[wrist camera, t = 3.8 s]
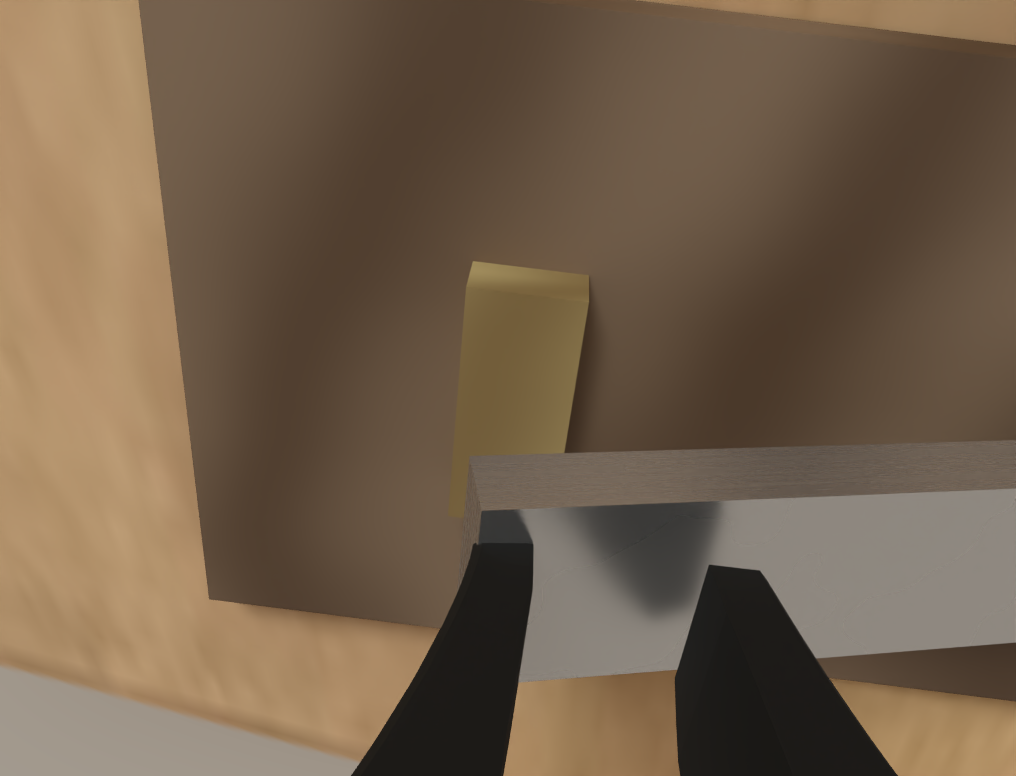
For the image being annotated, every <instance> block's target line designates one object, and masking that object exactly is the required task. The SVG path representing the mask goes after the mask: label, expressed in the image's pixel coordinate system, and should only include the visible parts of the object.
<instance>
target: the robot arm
mask: <svg viewBox="0 0 1016 776" xmlns="http://www.w3.org/2000/svg"><path fill="white" fill-rule="evenodd" d="M533 557H534V544H529V543H481V544H480V545H477V544H476V543H474V544H473V546H472V551H471V555H470V559H469V562H468V565H467V568H466V571H465V574H464V577H463V580H462V582H461V585H460V587H459V590H458V592H457V594H456V597H455V599H454V601H453V603H452V605H451V608H450V610H449V612H448V614H447V616H446V618H445V621H444V623H443V625H442V627H441V629H440V631H439V632H438V634H437V636H436V638H435V640H434V642H433V644H432V646H431V647H430V649H429V651H428V653H427V655H426V657H425V659H424V661H423V662H422V664H421V666H420V668H419V670H418V672H417V673H416V675H415V677H414V679H413V680H412V682H411V684H410V686H409V687H408V689H407V690H406V692H405V694H404V695H403V697H402V698H401V700H400V702H399V703H398V705H397V706H396V708H395V710H394V711H393V713H392V714H391V716H390V718H389V719H388V721H387V722H386V724H385V726H384V727H383V729H382V731H381V732H380V734H379V735H378V737H377V738H376V740H375V741H374V743H373V744H372V746H371V747H370V749H369V750H368V752H367V753H366V755H365V756H364V758H363V759H362V761H361V762H360V764H359V765H358V766H357V768H356V769H355V771H354V772H353V774H352V775H351V776H503V773H504V768H505V762H506V756H507V750H508V745H509V739H510V732H511V726H512V719H513V713H514V707H515V700H516V694H517V688H518V681H519V675H520V668H521V662H522V656H523V649H524V643H525V637H526V630H527V624H528V617H529V611H530V605H531V598H532V592H533ZM675 698H676V727H677V747H678V763H679V770H680V776H898V775H897V774H896V773H895V771H894V770H893V769H892V767H891V766H890V765H889V763H888V762H887V761H886V759H885V758H884V756H883V755H882V754H881V752H880V751H879V750H878V748H877V747H876V745H875V744H874V743H873V741H872V740H871V739H870V737H869V736H868V734H867V733H866V731H865V730H864V728H863V727H862V726H861V724H860V723H859V721H858V720H857V718H856V717H855V716H854V714H853V713H852V711H851V710H850V708H849V707H848V705H847V704H846V703H845V701H844V700H843V698H842V697H841V695H840V694H839V692H838V691H837V690H836V688H835V687H834V685H833V684H832V682H831V681H830V679H829V678H828V676H827V675H826V673H825V671H824V670H823V668H822V667H821V665H820V664H819V662H818V661H817V659H816V658H815V656H814V654H813V653H812V651H811V650H810V648H809V647H808V645H807V644H806V642H805V640H804V639H803V637H802V636H801V634H800V633H799V631H798V629H797V628H796V626H795V625H794V623H793V621H792V620H791V618H790V617H789V615H788V613H787V612H786V610H785V608H784V607H783V605H782V604H781V602H780V600H779V599H778V597H777V595H776V594H775V592H774V591H773V589H772V587H771V586H770V584H769V582H768V581H767V579H766V578H765V577H764V575H763V574H762V573H761V571H760V570H752V569H743V568H735V567H726V566H718V565H709V566H708V569H707V573H706V576H705V579H704V583H703V586H702V589H701V593H700V596H699V599H698V603H697V606H696V609H695V613H694V616H693V619H692V623H691V626H690V629H689V633H688V636H687V640H686V643H685V646H684V650H683V653H682V656H681V660H680V663H679V666H678V670H677V673H676V676H675Z"/></svg>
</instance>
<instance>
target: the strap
mask: <svg viewBox="0 0 1016 776" xmlns="http://www.w3.org/2000/svg"><path fill="white" fill-rule="evenodd" d="M474 543H476V544H477V545H480V544H481V543H529V544H534V557H533V592H532V598H531V605H530V611H529V617H528V624H527V630H526V637H525V643H524V649H523V656H522V662H521V668H520V675H519V681H518V682H529V681H541V680H554V679H566V678H579V677H591V676H604V675H616V674H629V673H641V672H654V671H666V670H678V666H679V663H680V660H681V656H682V653H683V650H684V646H685V643H686V640H687V636H688V633H689V629H690V626H691V623H692V619H693V616H694V613H695V609H696V606H697V603H698V599H699V596H700V593H701V589H702V586H703V583H704V579H705V576H706V573H707V569H708V566H709V565H718V566H726V567H735V568H743V569H752V570H760V571H761V573H762V574H763V575H764V577H765V578H766V579H767V581H768V582H769V584H770V586H771V587H772V589H773V591H774V592H775V594H776V595H777V597H778V599H779V600H780V602H781V604H782V605H783V607H784V608H785V610H786V612H787V613H788V615H789V617H790V618H791V620H792V621H793V623H794V625H795V626H796V628H797V629H798V631H799V633H800V634H801V636H802V637H803V639H804V640H805V642H806V644H807V645H808V647H809V648H810V650H811V651H812V653H813V654H814V656H815V658H828V657H841V656H853V655H866V654H878V653H891V652H903V651H916V650H928V649H941V648H953V647H966V646H978V645H991V644H1003V643H1016V440H1003V441H968V442H934V443H899V444H865V445H831V446H796V447H762V448H727V449H693V450H658V451H624V452H589V453H555V454H521V455H486V456H469V467H468V477H467V488H466V499H465V510H464V521H463V531H462V542H461V553H460V564H459V575H458V585H457V592H458V590H459V587H460V585H461V582H462V580H463V577H464V574H465V571H466V568H467V565H468V562H469V559H470V555H471V551H472V546H473V544H474Z"/></svg>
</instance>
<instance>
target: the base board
mask: <svg viewBox="0 0 1016 776" xmlns="http://www.w3.org/2000/svg"><path fill="white" fill-rule="evenodd" d="M139 8H140V17H141V25H142V34H143V42H144V51H145V59H146V68H147V76H148V85H149V93H150V102H151V110H152V119H153V127H154V136H155V144H156V152H157V161H158V169H159V178H160V186H161V195H162V203H163V212H164V220H165V229H166V237H167V246H168V254H169V263H170V271H171V280H172V288H173V297H174V305H175V314H176V322H177V331H178V339H179V348H180V356H181V364H182V373H183V381H184V390H185V398H186V407H187V415H188V424H189V432H190V441H191V449H192V458H193V466H194V475H195V483H196V492H197V500H198V509H199V517H200V526H201V534H202V543H203V551H204V560H205V568H206V576H207V585H208V593H209V599H212V600H220V601H228V602H235V603H243V604H251V605H259V606H267V607H275V608H283V609H291V610H299V611H306V612H314V613H322V614H330V615H338V616H346V617H354V618H362V619H370V620H377V621H385V622H393V623H401V624H409V625H417V626H425V627H433V628H441V627H442V625H443V623H444V621H445V618H446V616H447V614H448V612H449V610H450V608H451V605H452V603H453V601H454V599H455V597H456V594H457V585H458V575H459V564H460V553H461V542H462V531H463V521H464V510H465V499H466V488H467V477H468V467H469V456H486V455H521V454H555V453H589V452H624V451H658V450H693V449H727V448H762V447H796V446H831V445H865V444H899V443H934V442H968V441H1003V440H1016V45H1007V44H999V43H990V42H982V41H973V40H965V39H956V38H948V37H940V36H931V35H923V34H914V33H906V32H897V31H889V30H880V29H872V28H863V27H855V26H847V25H838V24H830V23H821V22H813V21H804V20H796V19H787V18H779V17H770V16H762V15H753V14H745V13H737V12H728V11H720V10H711V9H703V8H694V7H686V6H677V5H669V4H660V3H652V2H644V1H635V0H139ZM816 659H817V661H818V662H819V664H820V665H821V667H822V668H823V670H824V671H825V673H826V675H827V676H828V678H835V679H843V680H851V681H859V682H867V683H875V684H883V685H890V686H898V687H906V688H914V689H922V690H930V691H938V692H946V693H954V694H962V695H969V696H977V697H985V698H993V699H1001V700H1009V701H1016V643H1003V644H991V645H978V646H966V647H953V648H941V649H928V650H916V651H903V652H891V653H878V654H866V655H853V656H841V657H828V658H816Z"/></svg>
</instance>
